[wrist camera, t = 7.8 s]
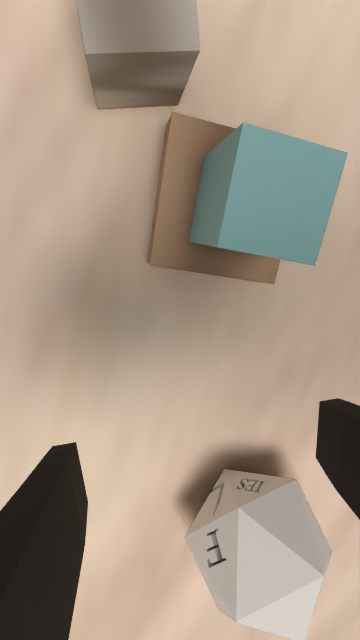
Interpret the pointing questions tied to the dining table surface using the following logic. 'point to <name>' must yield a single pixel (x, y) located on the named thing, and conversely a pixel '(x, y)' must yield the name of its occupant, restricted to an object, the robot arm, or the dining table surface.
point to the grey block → (139, 50)
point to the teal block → (266, 195)
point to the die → (261, 552)
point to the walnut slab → (179, 204)
